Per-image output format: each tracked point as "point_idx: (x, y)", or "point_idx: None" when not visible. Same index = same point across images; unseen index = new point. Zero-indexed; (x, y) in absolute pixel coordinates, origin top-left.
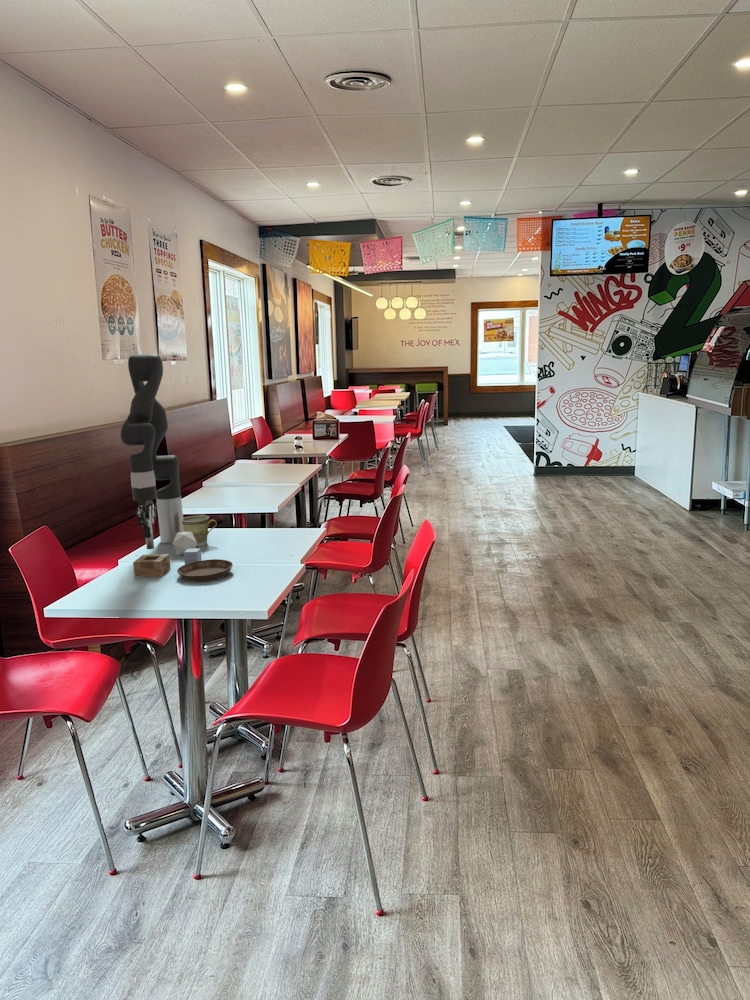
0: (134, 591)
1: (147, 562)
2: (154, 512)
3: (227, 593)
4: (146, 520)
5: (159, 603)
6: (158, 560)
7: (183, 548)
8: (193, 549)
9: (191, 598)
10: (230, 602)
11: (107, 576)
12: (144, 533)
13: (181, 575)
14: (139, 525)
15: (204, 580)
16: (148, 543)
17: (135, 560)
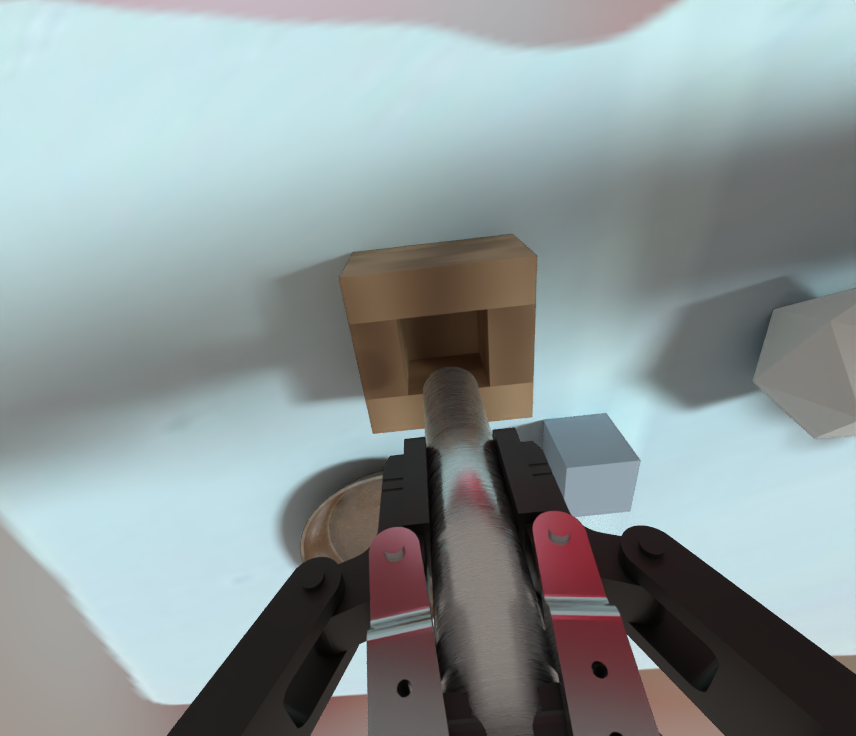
0: (141, 366)
1: (359, 367)
2: (709, 716)
3: (239, 627)
4: (319, 703)
5: (67, 511)
6: (395, 416)
7: (758, 377)
8: (615, 490)
9: (159, 571)
10: (172, 649)
11: (343, 26)
12: (383, 487)
13: (318, 507)
14: (293, 577)
15: (332, 554)
16: (424, 420)
17: (384, 273)
